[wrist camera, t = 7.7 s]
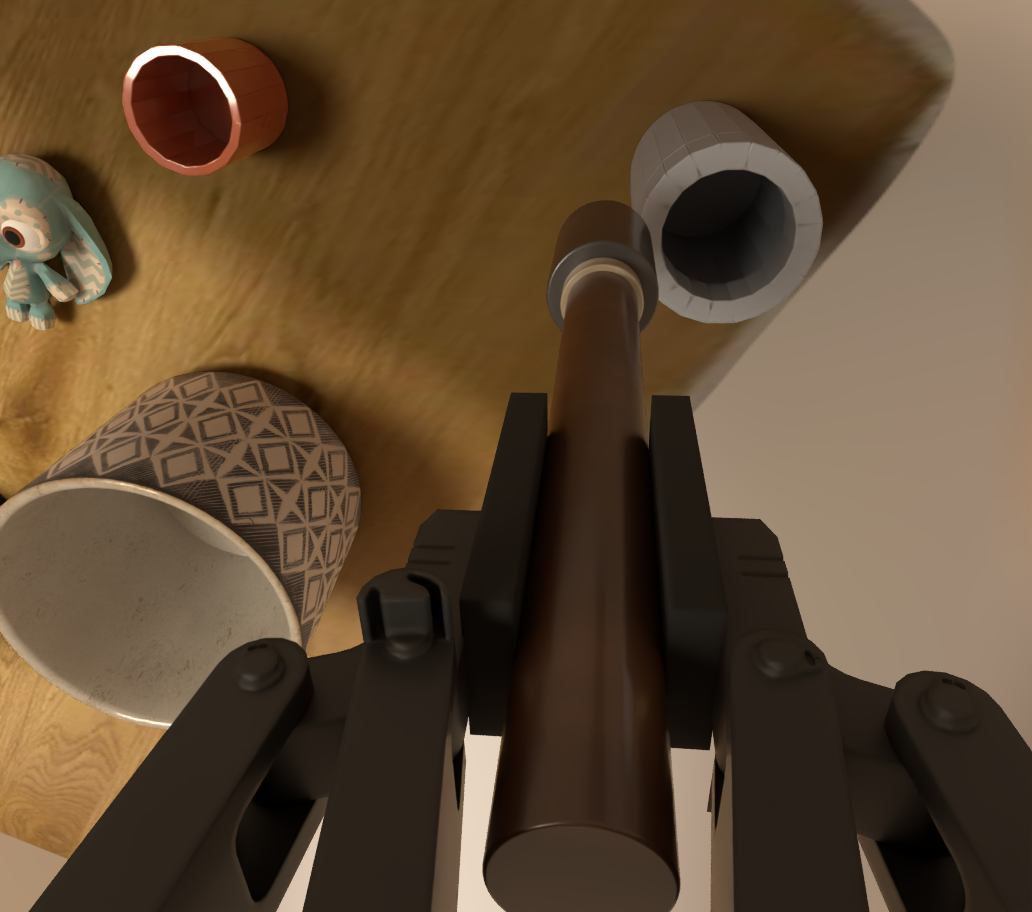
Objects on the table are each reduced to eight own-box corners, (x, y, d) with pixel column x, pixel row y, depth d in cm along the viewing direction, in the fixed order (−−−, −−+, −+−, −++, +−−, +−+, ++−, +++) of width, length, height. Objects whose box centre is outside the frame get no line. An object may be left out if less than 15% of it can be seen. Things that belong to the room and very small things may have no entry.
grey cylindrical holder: (774, 98, 44) (835, 139, 32) (759, 239, 48) (808, 323, 36) (632, 103, 45) (639, 145, 33) (628, 241, 49) (633, 324, 37)
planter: (425, 484, 59) (367, 639, 45) (274, 608, 67) (184, 772, 53) (219, 300, 54) (78, 411, 39) (79, 459, 61) (-79, 599, 47)
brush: (654, 199, 29) (767, 793, 8) (649, 294, 31) (728, 986, 10) (556, 200, 29) (404, 767, 8) (556, 293, 31) (434, 958, 10)
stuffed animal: (-93, 326, 51) (-134, 151, 43) (-17, 273, 56) (-42, 108, 48) (73, 386, 52) (62, 225, 44) (131, 328, 57) (131, 175, 49)
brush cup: (276, 35, 45) (225, 42, 39) (297, 151, 48) (252, 174, 42) (173, 39, 46) (106, 47, 40) (199, 153, 49) (141, 177, 43)
